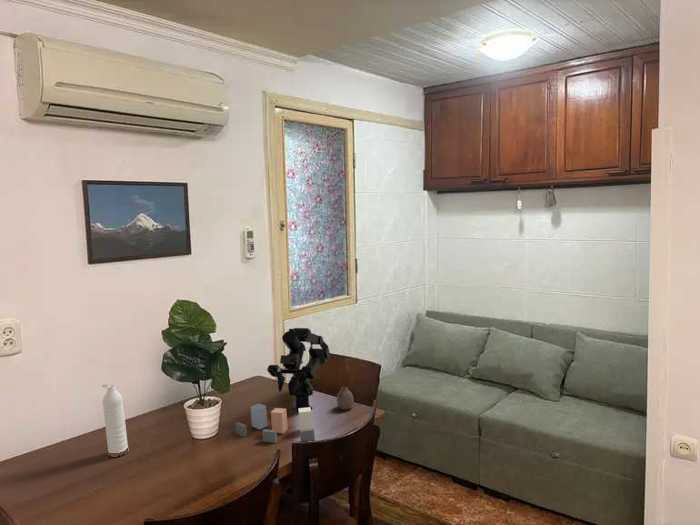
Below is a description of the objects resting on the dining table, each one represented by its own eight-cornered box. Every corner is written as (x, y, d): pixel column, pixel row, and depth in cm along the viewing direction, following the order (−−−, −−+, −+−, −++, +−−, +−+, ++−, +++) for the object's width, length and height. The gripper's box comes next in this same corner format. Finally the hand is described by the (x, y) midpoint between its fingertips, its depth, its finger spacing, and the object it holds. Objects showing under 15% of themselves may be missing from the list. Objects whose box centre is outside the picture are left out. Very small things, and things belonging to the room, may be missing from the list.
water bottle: (131, 452, 189) (124, 385, 186) (113, 460, 184) (105, 390, 181) (120, 446, 195) (113, 380, 192) (102, 452, 190) (95, 385, 187)
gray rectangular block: (260, 422, 208) (258, 403, 207) (267, 425, 205) (265, 406, 204) (252, 426, 205) (250, 406, 204) (259, 429, 202) (257, 409, 201)
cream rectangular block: (299, 428, 201) (298, 408, 200) (311, 427, 201) (310, 407, 200) (300, 433, 197) (298, 412, 196) (312, 431, 197) (311, 411, 196)
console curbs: (230, 438, 196) (229, 428, 196) (237, 431, 201) (236, 421, 201) (310, 446, 186) (309, 435, 186) (316, 439, 192) (315, 428, 191)
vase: (354, 404, 222) (353, 384, 221) (353, 411, 215) (351, 390, 214) (338, 404, 222) (337, 384, 221) (336, 411, 216) (335, 390, 215)
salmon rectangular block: (276, 427, 202) (275, 407, 201) (287, 428, 201) (286, 408, 200) (272, 432, 199) (270, 412, 198) (283, 433, 197) (281, 412, 196)
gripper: (267, 345, 211) (256, 381, 202) (311, 346, 206) (301, 384, 197) (277, 358, 220) (267, 393, 211) (319, 360, 214) (311, 396, 205)
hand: (286, 391), depth 206 cm, fingers open, 5 cm apart
